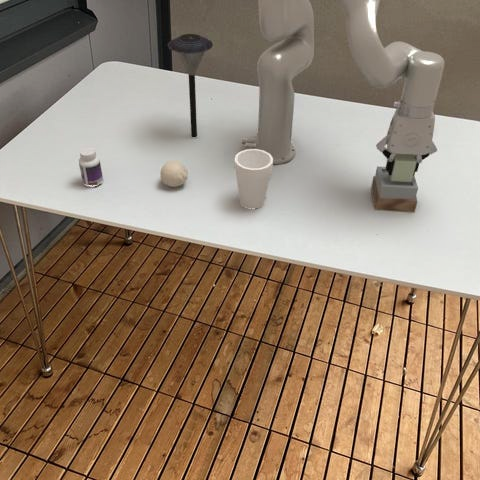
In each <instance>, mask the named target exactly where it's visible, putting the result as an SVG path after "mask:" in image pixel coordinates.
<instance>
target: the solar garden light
mask: <svg viewBox="0 0 480 480" xmlns="http://www.w3.org/2000/svg"><path fill="white" fill-rule="evenodd" d="M213 46H214V43H213V41H212V40H210V39H209V38H206V37H204V36H202V35H200V34H196V33H184V34H181V35H179V36H177V37H176V38H173V39H172V40H169V42H168V43H167V47H168V49H169V50H171V51H172V52H174V53H175V52H176V53H177V55H178V57H179V59H180V61H181V63H182V65H183V67H184V68H185V70H186V73H187V74H188V89H189V94H188V95H189V113H190V114H189V115H190V117H189V118H190V132H191V133H190V135H191V136H192V137H196V136H197V137H198V129H197V128H198V126H197V124H198V123H197V122H198V121H197V102H196V101H197V99H196V97H197V96H196V73H197V70H198V68H199V65H200V63H201V61H202V58H203V56H204V55H205V52H208V51H209V50H211V49H213ZM192 137H191V138H192ZM197 137H196V138H197Z"/></svg>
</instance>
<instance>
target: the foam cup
mask: <svg viewBox="0 0 480 480" xmlns="http://www.w3.org/2000/svg"><path fill="white" fill-rule="evenodd" d="M234 157H235V158H234V167H233V168H234V170H235V175H236V183H237V189H238V197H239V203H240V202H241V203H240V205H241V204H242V205H243V206H245V207H247V208H246V209H248V208H251V209H250V210H253V209H252V208H258V209H260V208H262V207H263V206H264V205H265V201H266V196H267V192H268V188H269V183H270V178H271V174H272V172H273V168H274V167H273V165H274V164H273V157H272V156H271V155H270V154H269V153H267V152H266V151H264V150H259V149H252V148H247V149H244V150H241V151H239V152H238V153H237V154H235V156H234ZM242 205H241V206H242ZM243 206H242V207H243ZM245 207H244V208H245ZM259 207H260V208H259Z"/></svg>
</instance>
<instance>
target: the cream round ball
mask: <svg viewBox="0 0 480 480" xmlns="http://www.w3.org/2000/svg"><path fill="white" fill-rule="evenodd" d="M188 175H189V173H188V168H187V167H185V165H184V164H183V163H182V162H181V161H177V160H169V161H167V162H165V163H164V164H163V165H162V166H161V169H160V178H161V181H162V183H163V184H165V185H166V186H168V187H173V188H177V187H180V186H182V184H184V183H186V182H187V180H188V178H189V176H188Z"/></svg>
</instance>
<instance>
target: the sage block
mask: <svg viewBox="0 0 480 480" xmlns="http://www.w3.org/2000/svg"><path fill="white" fill-rule="evenodd" d="M416 163H417V161H416V158H415V155H409V154H396V156H395V158H394V166H393V171H392V175H390V178H391V181H401V182H412V178H413V174H414V170H415V166H416Z"/></svg>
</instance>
